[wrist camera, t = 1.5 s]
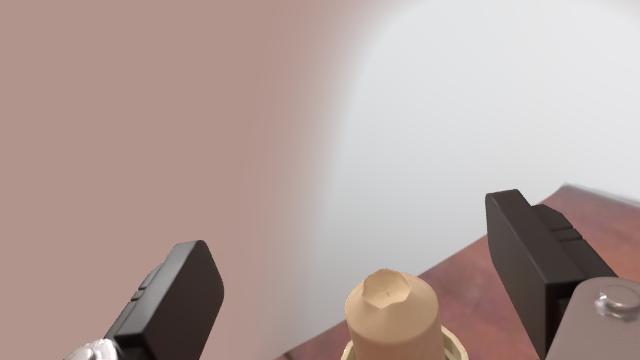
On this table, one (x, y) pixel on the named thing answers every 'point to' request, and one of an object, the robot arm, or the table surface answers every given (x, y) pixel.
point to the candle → (394, 318)
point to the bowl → (452, 346)
